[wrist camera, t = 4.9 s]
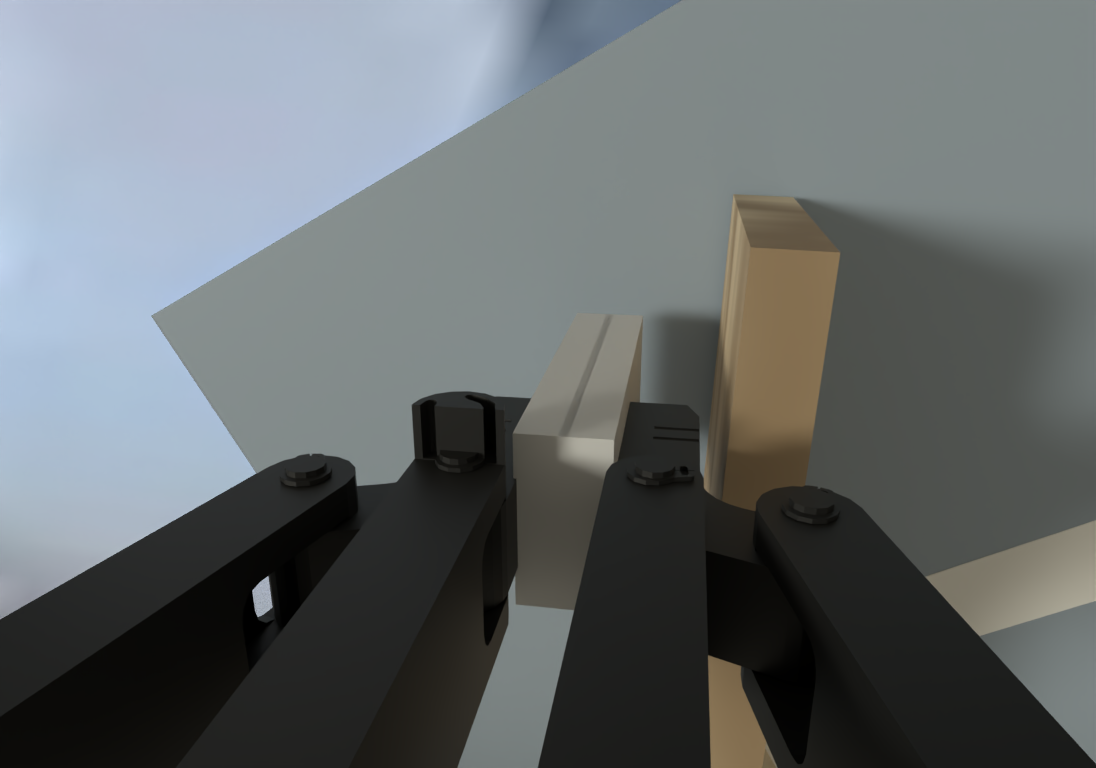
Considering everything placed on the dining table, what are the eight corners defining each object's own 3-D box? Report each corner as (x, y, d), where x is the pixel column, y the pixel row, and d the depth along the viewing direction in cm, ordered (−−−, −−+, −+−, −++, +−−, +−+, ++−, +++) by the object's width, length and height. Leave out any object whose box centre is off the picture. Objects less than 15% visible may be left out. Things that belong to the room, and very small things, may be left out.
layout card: (691, 1109, 28) (691, 1124, 28) (160, 312, 21) (150, 315, 21) (1474, 993, 21) (1488, 1010, 21) (1074, -231, 14) (1084, -240, 14)
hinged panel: (679, 707, 22) (672, 953, 15) (733, 193, 17) (753, 256, 11) (726, 713, 21) (738, 966, 15) (792, 197, 17) (848, 261, 11)
